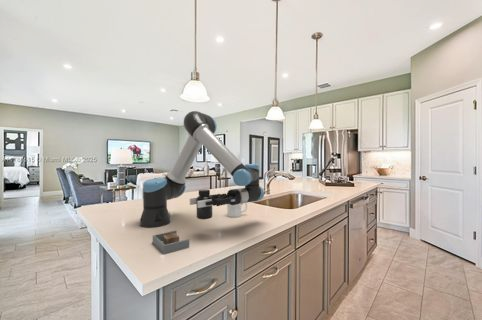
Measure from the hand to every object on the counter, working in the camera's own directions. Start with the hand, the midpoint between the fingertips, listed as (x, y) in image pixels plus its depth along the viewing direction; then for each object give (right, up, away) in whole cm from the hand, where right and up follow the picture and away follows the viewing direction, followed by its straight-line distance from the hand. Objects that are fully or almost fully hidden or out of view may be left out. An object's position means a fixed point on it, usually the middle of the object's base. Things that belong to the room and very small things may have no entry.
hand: (193, 203), depth 93 cm
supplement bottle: (+4, -7, +3) cm, 9 cm away
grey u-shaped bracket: (-8, -16, -6) cm, 19 cm away
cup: (+18, -15, +38) cm, 44 cm away
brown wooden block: (-8, -16, -5) cm, 18 cm away
